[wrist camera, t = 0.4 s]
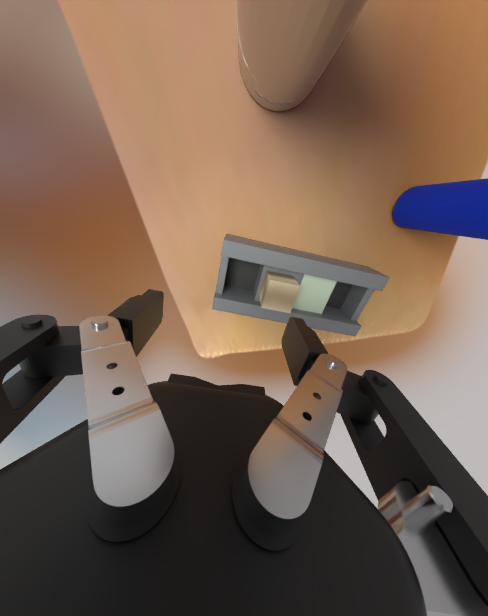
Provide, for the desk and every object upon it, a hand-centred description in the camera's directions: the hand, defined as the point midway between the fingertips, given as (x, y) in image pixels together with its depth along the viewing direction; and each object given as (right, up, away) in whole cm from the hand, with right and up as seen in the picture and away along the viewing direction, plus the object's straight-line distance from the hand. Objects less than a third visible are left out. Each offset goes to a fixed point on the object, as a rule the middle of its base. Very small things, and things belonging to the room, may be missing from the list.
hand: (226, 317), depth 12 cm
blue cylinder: (+24, +15, +15) cm, 33 cm away
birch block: (+6, +4, +16) cm, 18 cm away
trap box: (+9, +5, +20) cm, 23 cm away
